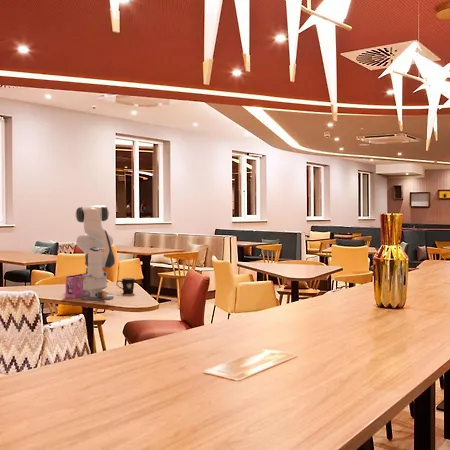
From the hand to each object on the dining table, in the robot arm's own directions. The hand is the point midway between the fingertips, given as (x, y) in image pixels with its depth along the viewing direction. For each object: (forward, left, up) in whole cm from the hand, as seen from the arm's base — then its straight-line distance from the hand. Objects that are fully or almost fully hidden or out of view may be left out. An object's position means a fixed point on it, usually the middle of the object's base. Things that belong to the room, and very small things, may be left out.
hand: (94, 296), depth 349 cm
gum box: (-27, -1, -3) cm, 27 cm away
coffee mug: (-24, +29, -3) cm, 38 cm away
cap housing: (-11, +5, -3) cm, 12 cm away
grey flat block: (-6, +5, -2) cm, 8 cm away
